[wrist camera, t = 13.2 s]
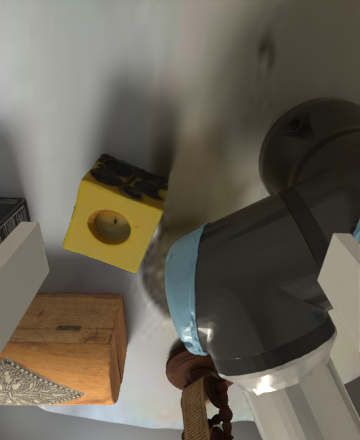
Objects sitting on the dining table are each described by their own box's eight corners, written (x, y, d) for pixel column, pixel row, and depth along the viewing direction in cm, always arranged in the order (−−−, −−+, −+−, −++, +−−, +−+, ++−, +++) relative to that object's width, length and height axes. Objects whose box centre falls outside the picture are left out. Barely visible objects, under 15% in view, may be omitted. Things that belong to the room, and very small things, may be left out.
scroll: (199, 325, 58) (206, 445, 40) (252, 358, 62) (280, 478, 45) (152, 363, 63) (140, 482, 46) (204, 390, 68) (211, 508, 50)
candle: (145, 234, 48) (137, 276, 39) (82, 211, 46) (59, 250, 37) (170, 179, 43) (167, 212, 34) (101, 151, 41) (80, 179, 32)
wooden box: (-18, 350, 62) (-67, 423, 50) (-46, 288, 54) (-113, 358, 41) (129, 352, 62) (116, 426, 50) (123, 292, 54) (106, 362, 42)
